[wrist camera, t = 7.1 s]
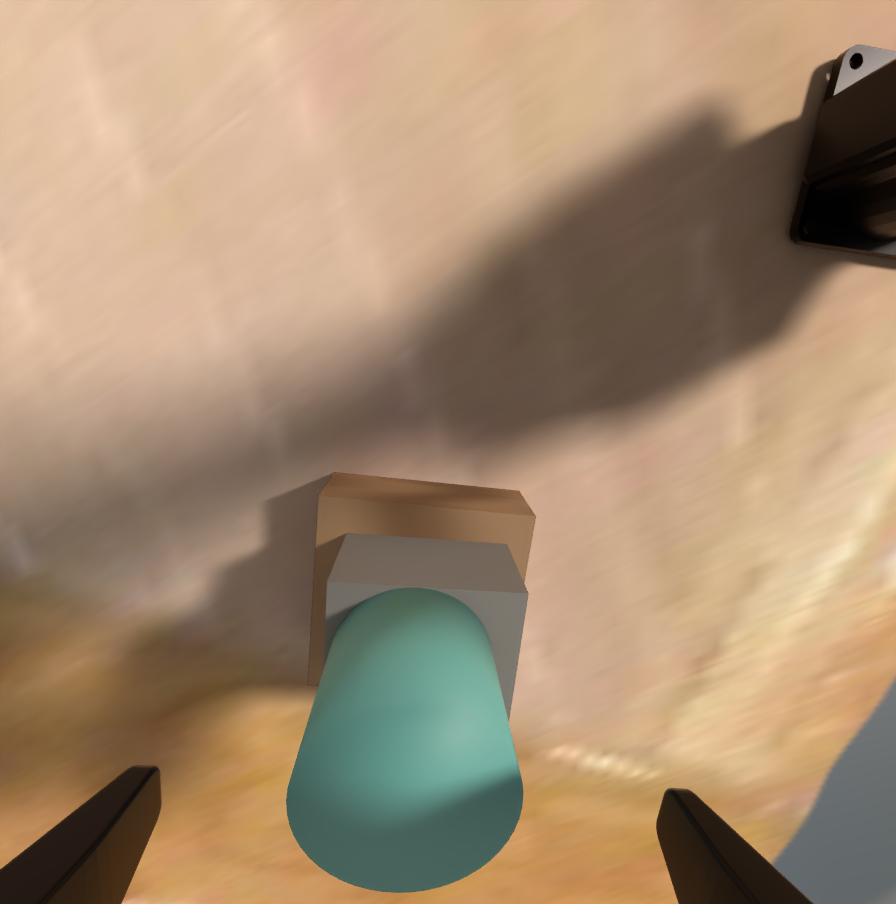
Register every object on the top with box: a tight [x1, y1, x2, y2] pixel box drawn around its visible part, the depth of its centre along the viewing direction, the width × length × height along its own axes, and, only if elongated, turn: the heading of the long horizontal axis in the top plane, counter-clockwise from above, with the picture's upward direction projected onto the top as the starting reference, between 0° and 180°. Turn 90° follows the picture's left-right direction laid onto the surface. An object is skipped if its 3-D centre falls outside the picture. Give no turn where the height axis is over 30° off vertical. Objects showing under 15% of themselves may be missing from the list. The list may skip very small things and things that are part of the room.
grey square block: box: [324, 533, 528, 722], centre depth 16 cm, size 6×6×4 cm
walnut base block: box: [307, 472, 536, 686], centre depth 19 cm, size 8×8×4 cm
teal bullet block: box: [286, 588, 523, 893], centre depth 12 cm, size 5×5×4 cm
